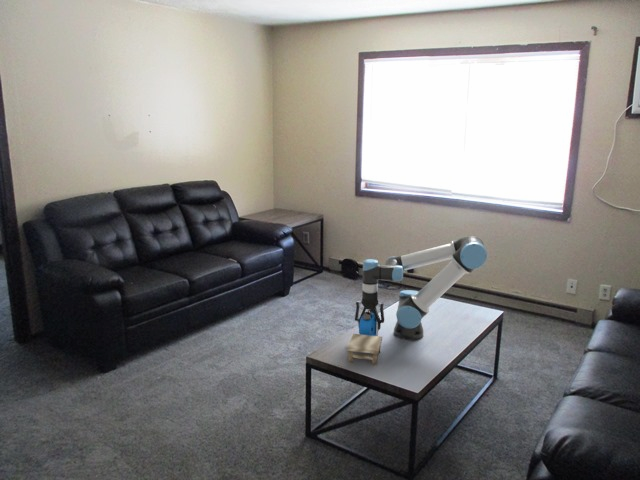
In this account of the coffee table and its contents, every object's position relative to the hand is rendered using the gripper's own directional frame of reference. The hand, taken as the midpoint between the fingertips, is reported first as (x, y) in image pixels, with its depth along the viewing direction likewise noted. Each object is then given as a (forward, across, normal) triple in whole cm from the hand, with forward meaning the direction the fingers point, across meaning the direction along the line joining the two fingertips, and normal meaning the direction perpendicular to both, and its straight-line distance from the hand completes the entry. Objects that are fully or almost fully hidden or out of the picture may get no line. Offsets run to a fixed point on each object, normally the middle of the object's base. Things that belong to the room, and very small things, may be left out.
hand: (369, 334), depth 268 cm
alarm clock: (+2, 0, 0) cm, 2 cm away
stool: (+4, 0, +18) cm, 18 cm away
